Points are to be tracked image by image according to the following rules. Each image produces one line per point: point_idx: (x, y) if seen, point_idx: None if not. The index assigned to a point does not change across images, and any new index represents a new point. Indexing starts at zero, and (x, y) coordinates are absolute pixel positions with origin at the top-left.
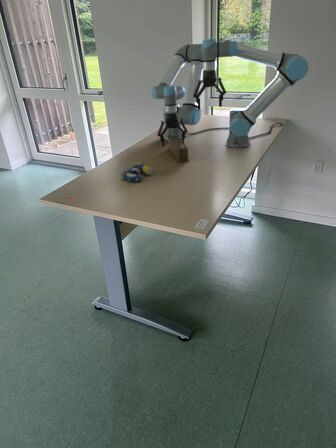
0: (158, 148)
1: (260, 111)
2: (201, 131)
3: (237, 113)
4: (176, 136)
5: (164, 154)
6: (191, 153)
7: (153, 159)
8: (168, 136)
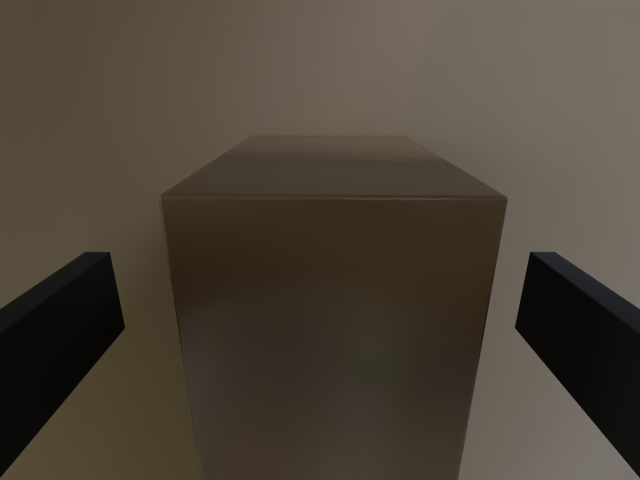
0: (62, 7)
1: None
2: None
3: None
4: (469, 361)
5: (156, 349)
6: (498, 451)
7: None
8: (200, 231)
